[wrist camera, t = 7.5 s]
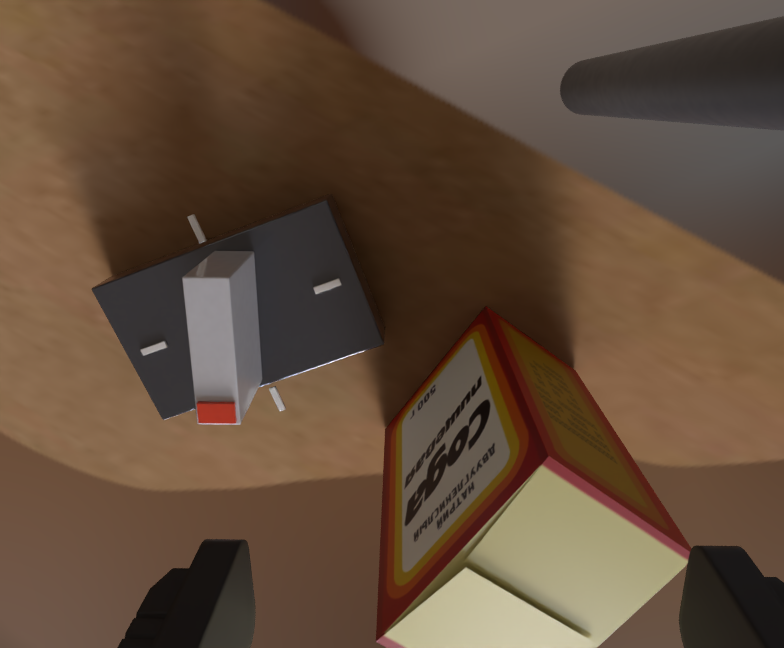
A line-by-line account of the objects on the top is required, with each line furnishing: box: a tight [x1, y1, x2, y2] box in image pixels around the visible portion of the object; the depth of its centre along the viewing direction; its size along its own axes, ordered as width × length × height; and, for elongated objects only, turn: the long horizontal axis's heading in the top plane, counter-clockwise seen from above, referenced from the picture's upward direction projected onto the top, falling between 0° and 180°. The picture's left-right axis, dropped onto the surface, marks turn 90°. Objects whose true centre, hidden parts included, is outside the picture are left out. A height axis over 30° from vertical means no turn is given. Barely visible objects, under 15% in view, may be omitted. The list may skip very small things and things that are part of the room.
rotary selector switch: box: [92, 193, 385, 420], centre depth 34 cm, size 13×11×3 cm
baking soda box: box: [376, 306, 691, 648], centre depth 29 cm, size 10×6×16 cm
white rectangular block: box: [182, 251, 262, 425], centre depth 30 cm, size 7×2×5 cm, turn 0°
